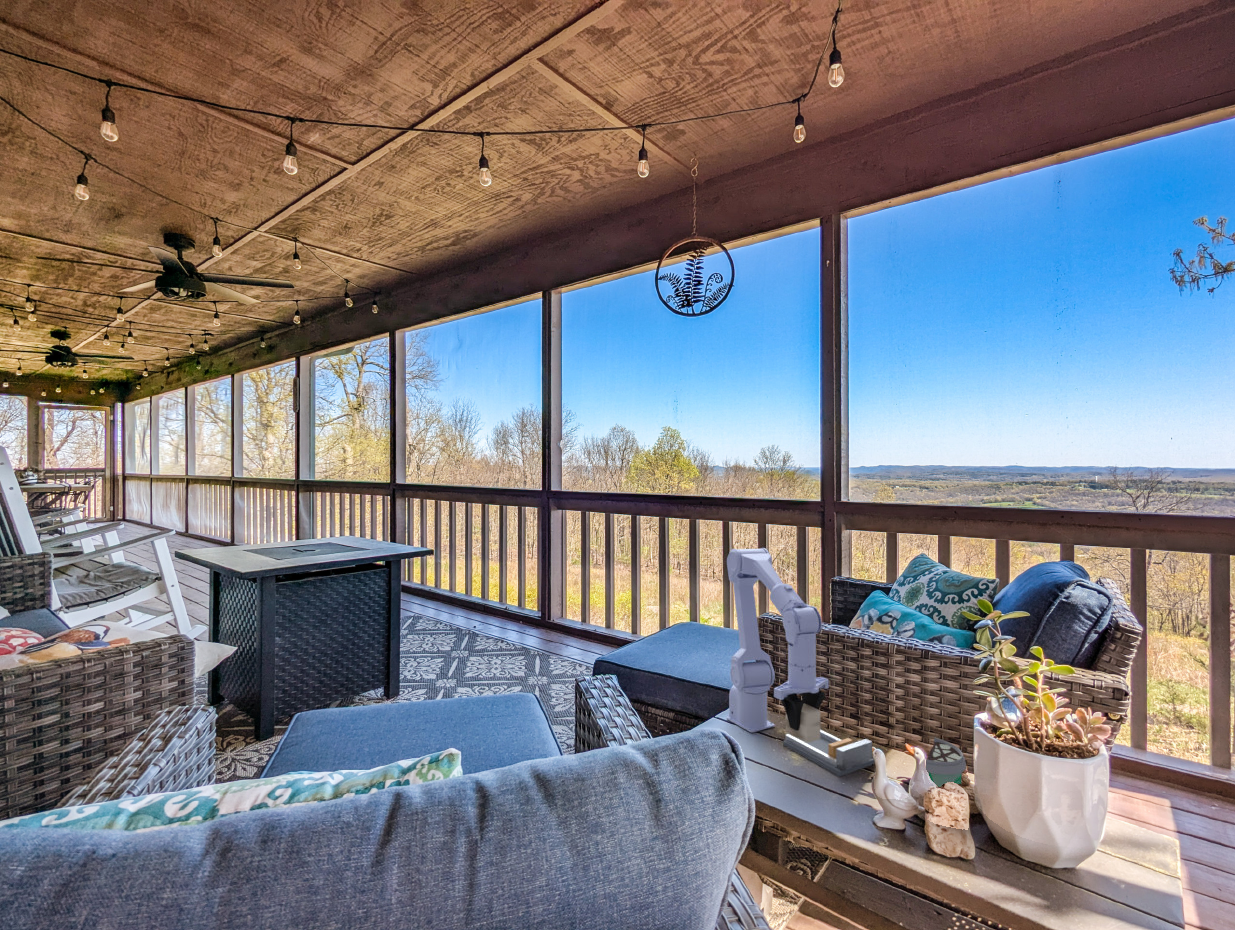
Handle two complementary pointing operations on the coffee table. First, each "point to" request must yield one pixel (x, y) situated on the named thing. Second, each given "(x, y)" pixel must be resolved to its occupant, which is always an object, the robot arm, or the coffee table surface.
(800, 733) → the birch block
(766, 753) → the coffee table surface
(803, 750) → the rail board
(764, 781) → the coffee table surface
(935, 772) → the food container
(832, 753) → the block
